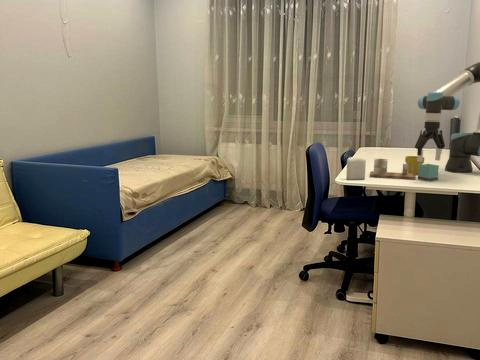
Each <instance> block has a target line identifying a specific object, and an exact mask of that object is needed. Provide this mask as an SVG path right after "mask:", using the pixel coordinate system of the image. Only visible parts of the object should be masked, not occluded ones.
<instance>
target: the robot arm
mask: <svg viewBox="0 0 480 360" xmlns="http://www.w3.org/2000/svg"><path fill="white" fill-rule="evenodd" d="M476 83H480V61H479V62H477V63H474V64H472V65H470V66H468V67H467V68H465V69H463V70H461V71H460V72H459V75H457V76H456V77H453V78H452V79H451V80H450V81H448V82H447V83H445V84H444V85H442V86H441V87H439V88H438V89H435V91H429V92H428V93H427V95H421V96H419V98H418V99H417V107H418V108H419V109H421V110H425V116H424V117H425V118H424V120H425V121H424V126H423V128H424V130H422V129H421V130H420V132H419V133H420V134H419V136H418V138H417V141H416V143H415V145H414V148H415V149H416V150H417V151H416V153H417V154H416V156H418V158H417V161H419V162H422V159H423V157H424V156H423V155H424V147H425V145H426V144H427V142H429V141H430V140H433V142H434V144H435V146H436V148H435V156H434V157H435V158H434V160H435V161H439V162H440V161H441V155H442V149H444V148H446V144H445V141H444V139H445V138H444V135H443V130H442V129H441V130H440V127H441V122H440V121H441V117H442V111H455V110H457V109H458V108H459V107H460V103H461V101H460V98H459V97H457V96H456V95H455V94H456V93H458V92H459V91H461V90H463V89H464V88H466V87H467V86H469V87H470V86H471V85H473V84H476ZM471 156H473V157H480V113H479V114H478V121H477V126H476V129H475V130H473V132H459V133H453V134H452V135H450V143H449V154H448V159H447V161H446V164H445V166H444V171H446V172H451V173H459V174H460V173H461V174H462V173H463V174H465V173H466V174H467V173H468V174H469V173H473V170H474V168H473V164H472V160H471Z"/></svg>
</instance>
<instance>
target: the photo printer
mask: <svg viewBox="0 0 480 360" xmlns="http://www.w3.org/2000/svg"><path fill="white" fill-rule="evenodd" d="M366 166H367V164H366V158H365V157H362V156H351V157H348V158H347V160H346V175H345V176H346V178H345V179H346V180H348V179H352V180H366Z"/></svg>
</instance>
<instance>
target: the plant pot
mask: <svg viewBox="0 0 480 360" xmlns="http://www.w3.org/2000/svg"><path fill="white" fill-rule="evenodd" d="M417 158H418V155H407V156H406V155H405V159H404V163H405V164H408V166H407V173H413V174H415V175H418V173H419V165H420V164H425V157H424V156H423V159H422V162H419V161H417Z"/></svg>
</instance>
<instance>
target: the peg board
mask: <svg viewBox="0 0 480 360" xmlns="http://www.w3.org/2000/svg"><path fill="white" fill-rule="evenodd" d="M373 161H374V162H373V171H372V170H370V172H369V178H375V179H376V178H378V179H393V180H394V179H396V180H410V181H411V180H412V181H415V180H416V178H417V177H416V174H413V173H407V166H408V164H406V163H402V172H388V158H378V157H377V158H374V160H373Z"/></svg>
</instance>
